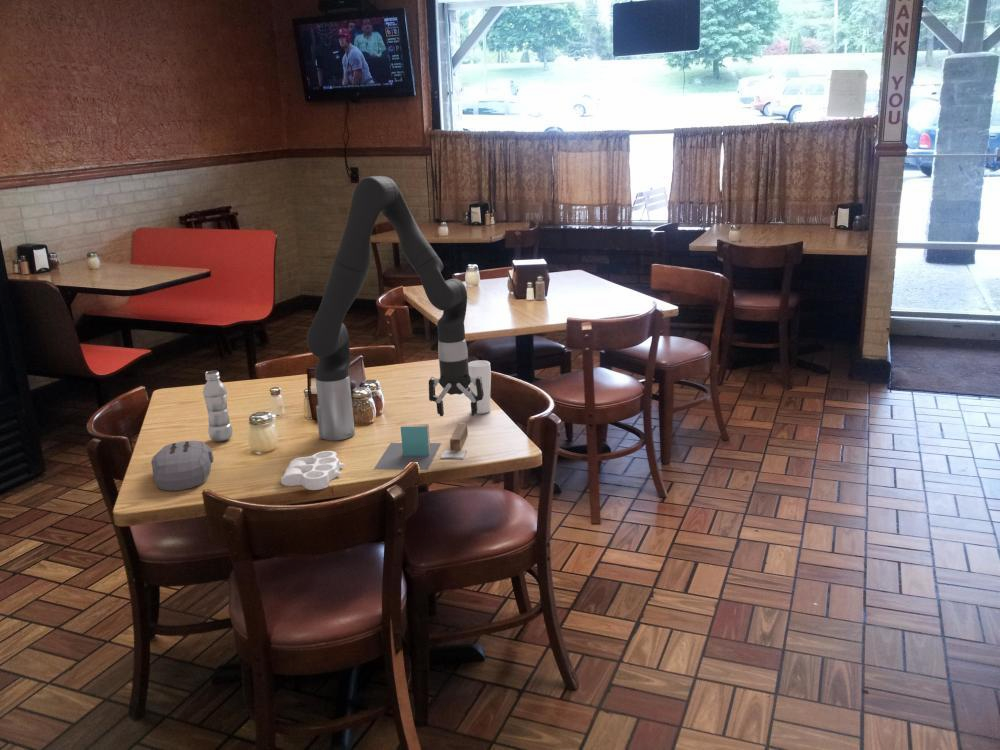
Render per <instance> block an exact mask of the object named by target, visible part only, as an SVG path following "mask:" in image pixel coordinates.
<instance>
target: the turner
mask: <svg viewBox="0 0 1000 750" xmlns="http://www.w3.org/2000/svg"><path fill="white" fill-rule="evenodd" d="M468 431H469V429H468V423H457V424H456V427H455V429H454V430H453V433H452V434H451V436H450V439H449V443H450V449H443V452H442V454H441V456H440V460H464V459H465V457H466V455H467V454H468V453H467V452H468V450H467V449H463V447H464V444H465V442H466V441H467V438H468V437H469V436H468V435H469V434H468Z"/></svg>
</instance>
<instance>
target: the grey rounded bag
mask: <svg viewBox="0 0 1000 750" xmlns="http://www.w3.org/2000/svg"><path fill="white" fill-rule="evenodd" d="M214 459H215V458H214V455H213V451H212V447H211V446H209V445H207V444H206V443H205V442H203V441H201V440H185V441H184V440H183V441H178V442H173V443H170V444H167V445H164V446H163V447H162V448H161V449H160V450H159V451H158V452H156V454H154V455H153V456H152V459H151V468H152V476H153V481H154V482H155V484H156V485H157V487H158V489H161V490H163V491H164V490H165V491H183V490H186V489H191V488H194V487H196V486H200V485H201V484H203V483H205V481H206V479H207V478H208V476H209V474H210V472H211V468H212V464H213V463H214Z"/></svg>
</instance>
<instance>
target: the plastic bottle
mask: <svg viewBox="0 0 1000 750" xmlns="http://www.w3.org/2000/svg"><path fill="white" fill-rule="evenodd" d="M204 376H205V380H206V383H205V384H204V386H203V387H202V388H203V390H202V395H203V398H204V401H205V404H206V410H207V416H208V417H207V418H208V427H207V428H208V431H207V433H208V436H209V439H211V441H213V442H224V441H228V440H229V439H231V438H232V436H233V426H232V423H231V421H230V417H229V413H228V403H227V401H228V397H227V396H228V390H227V387H226V385H225V384H224V383H223V381H221V380H220V379H221V376H220V372H219V371H218V370H210V371H206V372H205V374H204Z"/></svg>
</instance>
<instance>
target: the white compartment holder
mask: <svg viewBox="0 0 1000 750" xmlns="http://www.w3.org/2000/svg"><path fill="white" fill-rule="evenodd" d="M346 465H347V464H345V463H342V462H340V460H339V458H338V453H337V452H336V451H334V450H333V451H332V450H322V451H319V452H316V453H314V454H313V455H310V456H299V457H296V458H293V459H292V460H291V461H289V465H288V466H287V468H286V469H285V471H284V474H283V475H282V477H281V478H280V483H281V484H282V486H283V485H284V486H286V487H291V486H292V487H295V486H303V488H305V489H306V490H310V491H318V490H323V489H326V488H328V487H329V484H330V483H329V482H331V481H332V480H333V479H336V477H339V476H342V473H341V472H340V470H341V469H342V468H343V467H345V466H346Z"/></svg>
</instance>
